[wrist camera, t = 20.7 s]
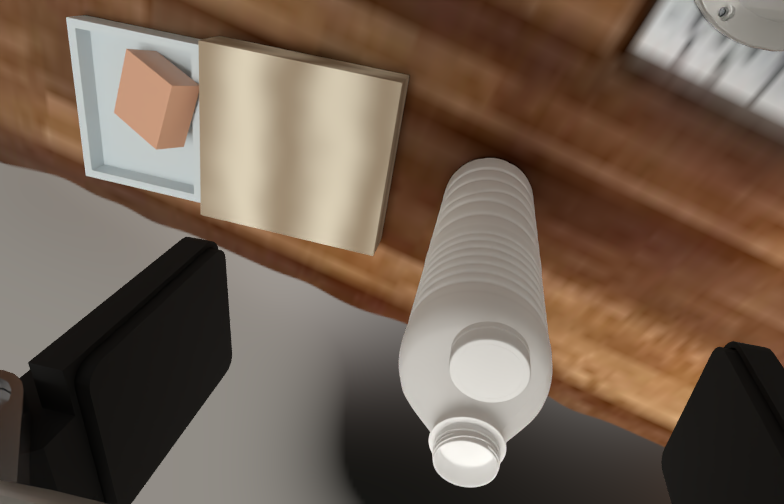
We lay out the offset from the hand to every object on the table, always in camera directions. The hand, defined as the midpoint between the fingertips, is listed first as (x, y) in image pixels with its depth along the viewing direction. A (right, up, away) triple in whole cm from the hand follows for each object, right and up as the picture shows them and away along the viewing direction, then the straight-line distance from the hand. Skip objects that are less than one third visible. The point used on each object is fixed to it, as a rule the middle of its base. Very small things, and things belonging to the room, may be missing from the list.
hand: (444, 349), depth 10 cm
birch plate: (-8, +10, +30) cm, 33 cm away
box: (-20, +13, +31) cm, 39 cm away
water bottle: (+6, +7, +29) cm, 31 cm away
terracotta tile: (-17, +13, +29) cm, 36 cm away
